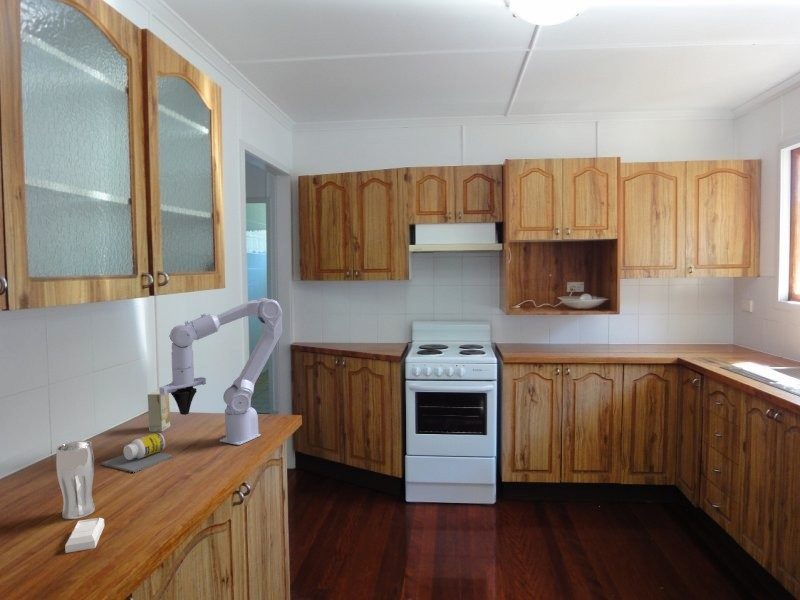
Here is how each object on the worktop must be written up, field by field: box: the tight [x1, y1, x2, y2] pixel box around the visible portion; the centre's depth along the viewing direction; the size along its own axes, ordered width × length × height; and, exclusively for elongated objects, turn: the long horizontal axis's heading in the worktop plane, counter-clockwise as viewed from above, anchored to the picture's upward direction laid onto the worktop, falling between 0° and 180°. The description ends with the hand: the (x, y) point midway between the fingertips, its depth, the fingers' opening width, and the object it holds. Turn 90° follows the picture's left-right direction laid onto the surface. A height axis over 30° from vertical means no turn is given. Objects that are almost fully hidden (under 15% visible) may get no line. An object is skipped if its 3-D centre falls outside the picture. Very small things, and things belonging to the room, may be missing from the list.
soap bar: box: [64, 517, 105, 554], centre depth 106 cm, size 5×9×3 cm, turn 19°
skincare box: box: [147, 389, 171, 433], centre depth 173 cm, size 6×4×12 cm
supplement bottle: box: [122, 432, 166, 460], centre depth 148 cm, size 5×5×10 cm
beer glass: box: [55, 440, 96, 520], centre depth 116 cm, size 7×7×15 cm
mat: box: [101, 451, 173, 474], centre depth 146 cm, size 12×13×1 cm
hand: (184, 413), depth 154 cm, fingers closed
